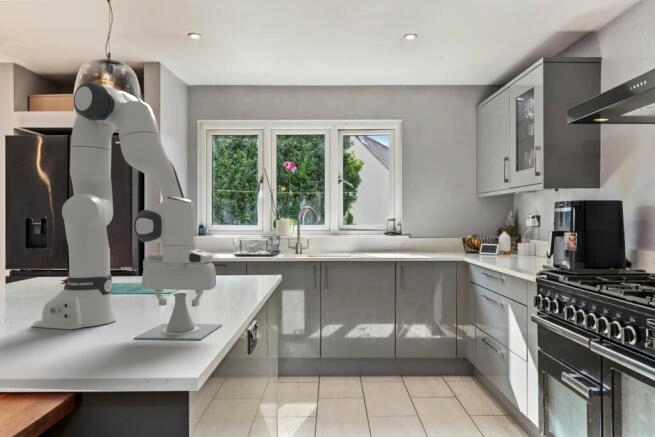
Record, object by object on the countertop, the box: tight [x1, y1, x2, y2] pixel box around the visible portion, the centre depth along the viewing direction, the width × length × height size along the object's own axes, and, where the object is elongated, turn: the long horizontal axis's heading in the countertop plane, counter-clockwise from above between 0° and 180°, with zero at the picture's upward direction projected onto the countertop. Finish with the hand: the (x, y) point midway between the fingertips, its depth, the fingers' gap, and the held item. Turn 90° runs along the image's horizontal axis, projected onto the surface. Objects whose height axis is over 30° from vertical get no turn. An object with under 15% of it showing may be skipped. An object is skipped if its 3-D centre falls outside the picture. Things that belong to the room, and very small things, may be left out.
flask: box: [166, 292, 195, 332], centre depth 124 cm, size 7×7×10 cm
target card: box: [133, 323, 223, 341], centre depth 124 cm, size 18×16×1 cm
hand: (178, 305), depth 124 cm, fingers open, 8 cm apart
